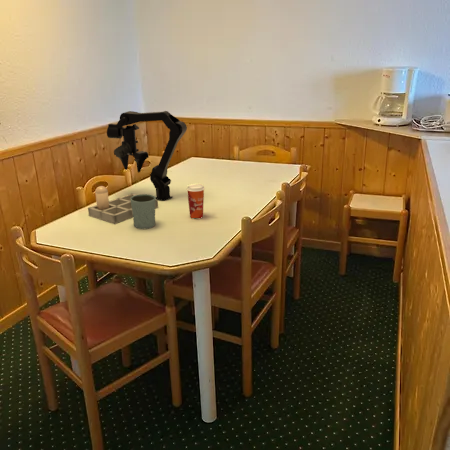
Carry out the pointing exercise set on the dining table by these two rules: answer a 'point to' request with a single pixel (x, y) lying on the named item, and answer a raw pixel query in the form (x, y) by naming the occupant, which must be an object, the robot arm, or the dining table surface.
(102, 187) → the beige capped bottle
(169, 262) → the dining table surface
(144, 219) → the grey green pot
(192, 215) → the paper cup
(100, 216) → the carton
